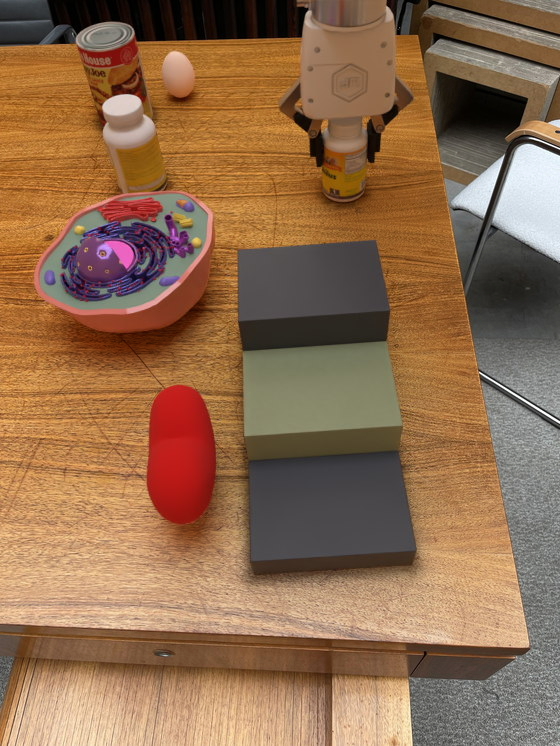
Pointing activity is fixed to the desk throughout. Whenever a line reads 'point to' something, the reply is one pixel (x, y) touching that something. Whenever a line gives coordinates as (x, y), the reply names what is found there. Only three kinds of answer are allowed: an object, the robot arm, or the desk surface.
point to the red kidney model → (180, 455)
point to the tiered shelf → (321, 410)
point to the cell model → (130, 261)
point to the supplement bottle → (344, 159)
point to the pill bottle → (133, 146)
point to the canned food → (112, 64)
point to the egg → (178, 74)
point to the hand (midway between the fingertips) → (344, 157)
